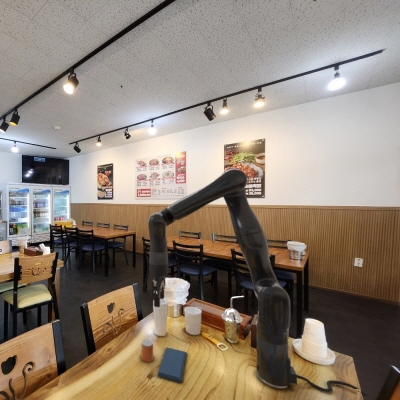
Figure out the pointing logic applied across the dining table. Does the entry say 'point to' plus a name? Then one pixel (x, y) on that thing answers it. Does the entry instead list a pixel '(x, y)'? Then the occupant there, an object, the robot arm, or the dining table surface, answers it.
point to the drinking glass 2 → (160, 317)
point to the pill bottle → (147, 350)
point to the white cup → (193, 320)
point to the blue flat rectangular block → (172, 365)
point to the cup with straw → (232, 323)
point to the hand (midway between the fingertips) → (159, 302)
